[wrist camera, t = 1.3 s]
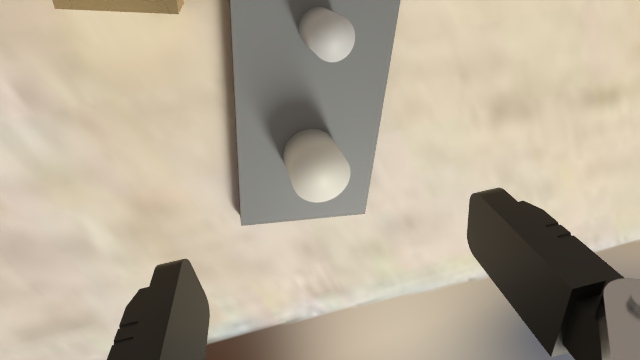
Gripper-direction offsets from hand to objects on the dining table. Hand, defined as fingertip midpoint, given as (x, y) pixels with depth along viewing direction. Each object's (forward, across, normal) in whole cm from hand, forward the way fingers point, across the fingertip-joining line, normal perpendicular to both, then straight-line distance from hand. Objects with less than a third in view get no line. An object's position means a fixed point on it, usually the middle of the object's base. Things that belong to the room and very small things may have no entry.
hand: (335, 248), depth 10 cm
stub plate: (+21, -2, +2) cm, 21 cm away
